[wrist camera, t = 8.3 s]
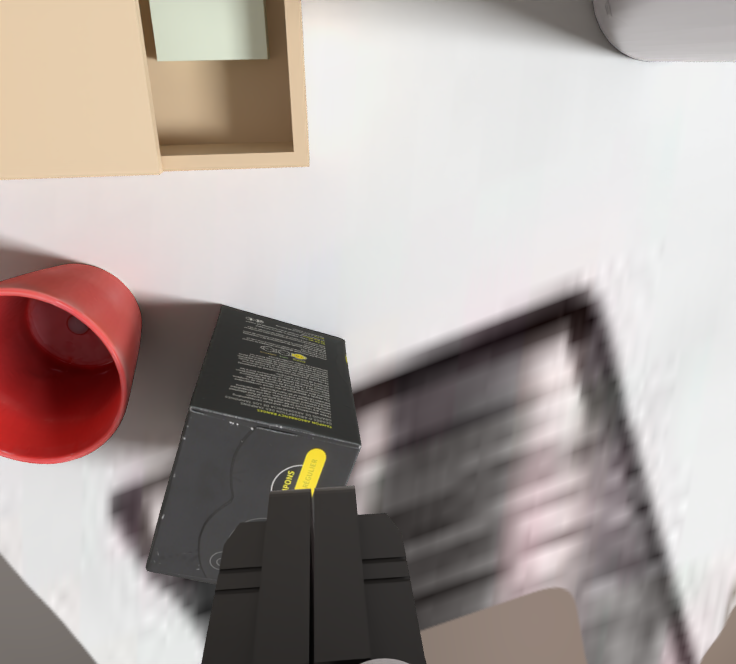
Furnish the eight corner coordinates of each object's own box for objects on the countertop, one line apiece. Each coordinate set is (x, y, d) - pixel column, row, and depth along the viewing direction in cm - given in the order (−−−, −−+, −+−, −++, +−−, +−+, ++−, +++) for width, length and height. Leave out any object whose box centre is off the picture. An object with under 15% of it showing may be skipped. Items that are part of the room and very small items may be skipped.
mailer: (293, -131, 34) (291, -168, 29) (309, 152, 40) (309, 166, 35) (-92, -132, 33) (-171, -171, 28) (-17, 162, 39) (-71, 178, 33)
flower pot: (29, 396, 45) (-39, 478, 36) (-22, 249, 41) (-114, 300, 32) (178, 378, 46) (147, 454, 37) (143, 230, 41) (97, 276, 33)
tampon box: (306, 459, 49) (306, 606, 36) (188, 432, 48) (141, 577, 34) (349, 335, 46) (367, 448, 32) (222, 300, 44) (185, 405, 30)
